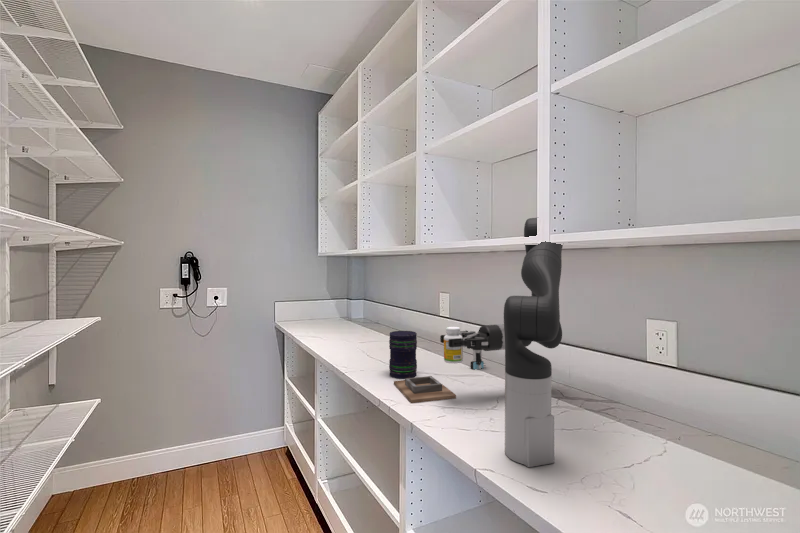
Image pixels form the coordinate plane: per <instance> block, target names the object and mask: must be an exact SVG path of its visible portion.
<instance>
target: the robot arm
mask: <svg viewBox="0 0 800 533" xmlns="http://www.w3.org/2000/svg"><path fill="white" fill-rule="evenodd" d="M537 218H538V217H531V218H527V219H526V220H525V223H524V227H523V238H524V237H529V236H536V235H537ZM563 245H564V244H563ZM563 245H561V244H556V243H551V242H546V241H545V242H541V243H540V244H538V245H525V244H524V248H525V256H524V258H523V261H522V265H521V269H520V271H521V272H520V274H521V275H520V276H521V279H522V282H523V283H524V285H525V286H526V288H528V289H529V291H531V292H530V293H531V296H530V295H529V296H528V295H510V296H508V297H507V298H506V300H505V302H504V305H503V323H502V324H501V323H500V324H486V325H485V324H484V325H481V326H480V327H479V329H478V331H477V332H476V331H474V330H470V331H469V330H462V331H461V330H460V333H459V335H461V336H462V339H461V338H457V339H449V340H448V346H449V347H463V348H464V349H465V348H466V349H468V350H471V348H482V349H483V350H482V351H484V352H492V351H493V352H495V351H503V350H504V454H505V455H506V457H507V458H508V459H510V460H512V461H513V462H515V463H518V464H522V465H524V466H526V467H527V468H532V467H537V466H544V465H548V464H549V465H550V464H554V463H555V416H554V415H553V414H552V381H553V380H552V373H553V372H552V371H553V369H552V362H551V361H550V359H548V358H547V357H544V356H543V355H540V354H538V353H536V352H535V351H532V350H531V349H529V348H527V347H529V346H530V345H531V344H532V343H533V342H534V343H535V342H536V343H537V344H539V345H541V346H543V347H545V348H547V349H556V347H558V346H559V345H560V344H561V342H562V339H563V330H562V324H561V321H560V320H561V315H560V284H561V277H562V276H561V275H562V267H563V266H562V265H563V264H562V251H563ZM445 335H446V334H441V335H440V338H439V340H440V343H441V344H444V336H445Z"/></svg>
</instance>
